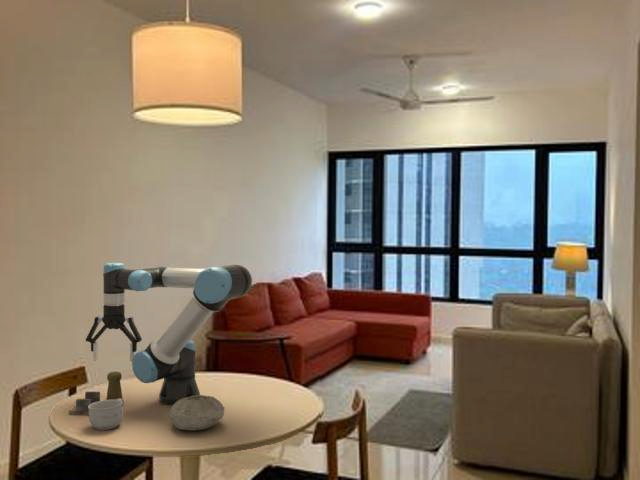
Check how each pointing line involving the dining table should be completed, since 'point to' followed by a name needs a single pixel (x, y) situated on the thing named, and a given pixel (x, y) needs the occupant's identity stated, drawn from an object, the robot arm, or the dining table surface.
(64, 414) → the dining table surface
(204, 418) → the grey stone
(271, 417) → the dining table surface
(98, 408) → the teacup
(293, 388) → the dining table surface
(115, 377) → the cork
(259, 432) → the dining table surface
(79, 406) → the stand
